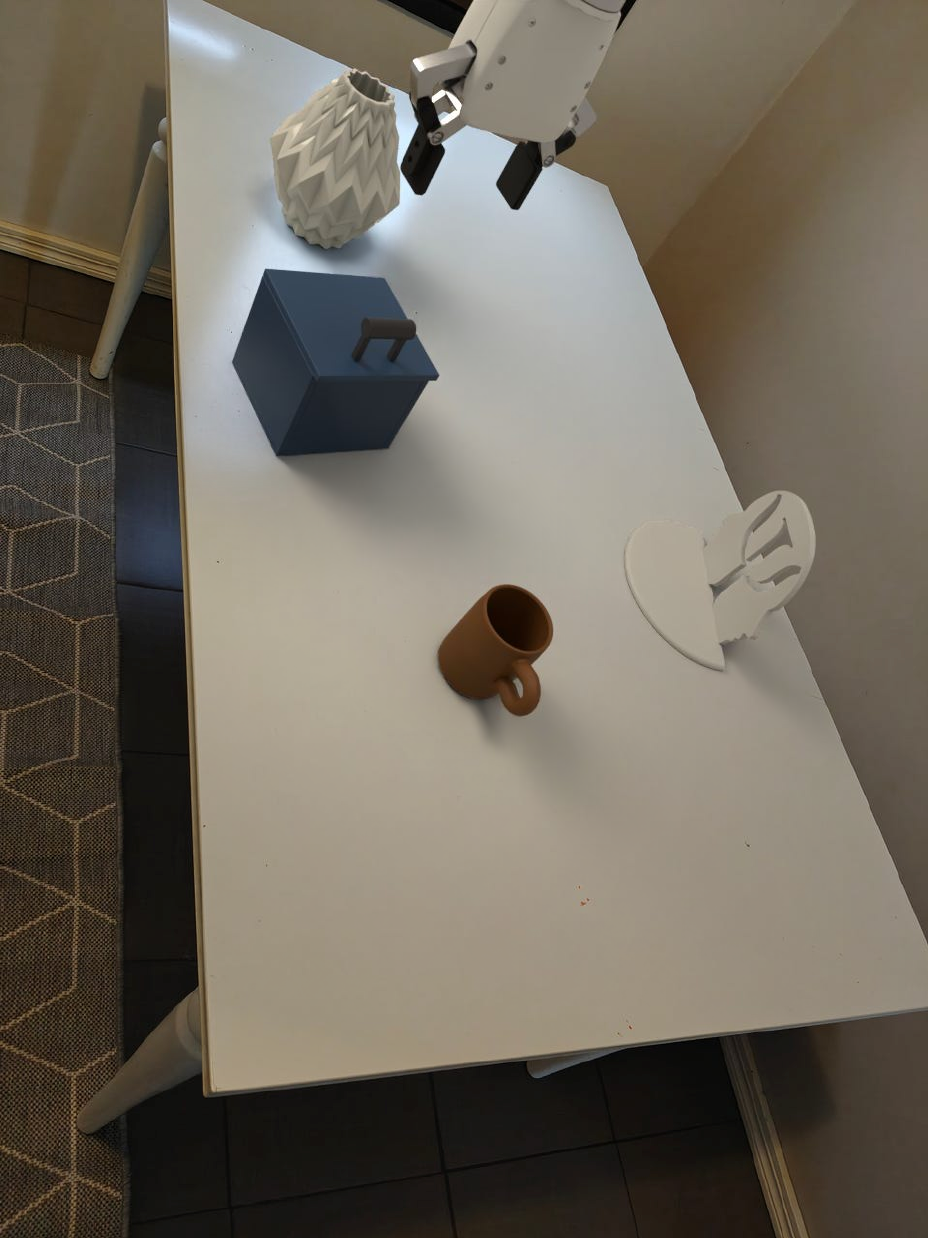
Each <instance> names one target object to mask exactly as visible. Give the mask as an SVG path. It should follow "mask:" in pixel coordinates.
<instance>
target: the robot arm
mask: <svg viewBox="0 0 928 1238" xmlns="http://www.w3.org/2000/svg"><path fill="white" fill-rule="evenodd" d="M626 1H627V0H472V2H471V4H470V6H469V7H468V9H467V11H466V14H465V15H464V16H463V19H462V21H461V22H460V24H459V26H458V27H457V30H456V32H455V33H454V36H453V38H452V40H451V41H450V44H449V45H448V48H446V49H443V50H440V51H437V52H433V53H429V54H426V55H422V56H418V57H416V58H414V59H413V60H412V61H411V62H410V64H409V88H410V91H409V93H408V99H409V101H410V105H411V107H412V111H413V112H414V113H413V114H414V115H413V117H414V119H415V120H416V122H417V125H416V129H415V131H414V133H413V135H412V137H411V140H410V142H409V144H408V146H407V148H406V151H405V153H404V155H403V157H402V160H401V163H400V168H399V170H400V173H401V174H402V176H403V177H404V179H405V180H406V182H407V184H408V185H409V187H410V189H411V190H412V192H413V193H414V195H416V196H424V195H425V194H426V193H427V191H428V189H429V187H430V185H431V183H432V181H433V178H434V177H435V175H436V173H437V170H438V168H439V166H440V165H441V162H442V160H443V158H444V156H445V154H446V148H445V147H444V145H443V143H444V142H445V141H447V140H449V138H451V137H453V136H454V135H455V134H457V133H458V132H460V131H461V130H462V129H464V128H465V127H467V126H468V127H470V128H473V129H476V130H479V131H484V132H489V133H492V134H497V135H501V136H507V137H510V138H515V139H520V141H519V142H518V143H517V144H516V146H515V147H514V148H513V151H512V153H511V155H510V156H509V158H508V160H507V161H506V163H505V166H504V167H503V169H502V171H501V173H500V175H499V176H498V178H497V180H496V182H495V187H496V188H497V190H498V191H499V193H500V195H501V196H502V198H503V199H504V200H505V202H506V203H507V205H508V207H509V208H510V209H511V210H512V211H519V210H520V209H521V207H522V205H523V204H524V202H525V200H526V199H527V197H528V195H529V193H530V192H531V190H532V189H533V187H534V185H535V183H536V182H537V180H538V178H539V177H540V175H541V174H542V172H543V169H547V168H550V167H551V166H552V165H554V164H555V162H556V159H557V156H559V155H561V154H562V153H564V152H565V151H567V150H569V149H571V148H572V147H573V146H574V145H575V144H576V141H577V138H580V137H581V136H582V135H583V134H584V133H585V132H587V131H588V130H589V128H591V127H592V126H593V125H594V124H595V123H596V122H597V120H598V115H597V113H596V111H595V110H594V108H593V106H592V105H591V103H590V101H589V99H588V98H587V96H586V95H587V93H588V92H589V90H590V88H591V85H592V83H593V81H594V80H595V78H596V75H597V74H598V71H599V69H600V67H601V65H602V63H603V62H604V59H605V56H606V54H607V52H608V50H609V48H610V45H611V42H612V40H613V38H614V35H615V34H616V30H617V28H618V25H619V23H620V20H621V16H622V13H621V10H622V8H623V7H624V6H625V5H624V4H625V3H626ZM436 86H438V87H439V88H440V90H439V91H438V92H437V93H435V94H434V90H435V87H436ZM461 98H462V99H463V100H462V101H461V100H460V99H461ZM450 108H451V110H452V112H450V113H449V114H448V115H446V116H445V117H444V118H442V119H440V118H439V116H440V115H441V114H443V113H444V112H446V111H447V110H449V109H450ZM522 140H524V141H522Z"/></svg>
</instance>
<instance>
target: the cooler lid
mask: <svg viewBox="0 0 928 1238" xmlns="http://www.w3.org/2000/svg"><path fill="white" fill-rule="evenodd" d="M262 276H264V278H265V280H266V282H267V284H268V286H269V288H270V290H271V292H272V294H273V296H274V298H275V300H276V302H277V304H278V306H279V308H280V310H281V312H282V314H283V316H284V318H285V320H286V322H287V324H288V326H289V328H290V330H291V332H292V334H293V336H294V338H295V340H296V342H297V344H298V346H299V348H300V350H301V352H302V354H303V356H304V358H305V360H306V362H307V364H308V366H309V368H310V370H311V372H312V374H313V375H314V377H315V379H316V381H317V382H376V381H429V382H437V381H438V379H439V377H440V374H439V372H438V369H437V368H436V366H435V364H434V363H433V361H432V359H431V357H430V355H429V353H428V352H427V350H426V348H425V347H424V344H423V343H422V342H421V339H420V337H419V336H418V334H417V325H416V322H415V321H414V320H413V319H409V318H408V317H407V315H406V313H405V312H404V309H403V308H402V306H401V304H400V303H399V300H398V299H397V297H396V296H395V294H394V291H393V290H392V288H391V287H390V285H389V283H388V282H387V279H386V278H385V277H380V276H379V277H378V276H366V275H365V276H364V275H353V274H340V273H329V272H328V273H327V272H315V271H303V270H291V269H290V270H288V269H276V268H264V270H263V273H262Z"/></svg>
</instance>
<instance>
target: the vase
mask: <svg viewBox="0 0 928 1238" xmlns="http://www.w3.org/2000/svg"><path fill="white" fill-rule="evenodd" d="M395 99H396V98H395V95H394V94H393V93H391V92H390V87H389V86H387V85H385V84H382V82H381V80H380V78H379V77H375V76H371V74H370V73H368V71H367V70H366V71H360V70H359V69H358V68H355V67H354V68H353V69H352V70H351V69H348V68H344V70H343V72H342V74H341V75H339V76H338V77H337V78H334V79H332V80H331V81H330V82H329V84H327V85H325V86H323V88H319V89H318V90H315V91H314V92H313V94H312V95H311V96H310V97H309V99H308V100H307V101H306V103H305V104H304V106H303V107H302V108H301V109H300V110H298V111H295V112H293V113H291V114H289V115H288V116H287V117H286V118H285V119H283V120H282V121H281V122H280V123H279V126H278V128H277V130H275V131H274V133H272V135H271V136H270V137H269V144H270V150H271V155H272V162H273V177H274V183H275V189H276V194H277V195H276V196H277V200H278V201H279V203H280V204H281V205H282V207H281V213H282V214H283V215H284V216H285V220H284V223H285V224H286V225H287V226H289V227H291V228H292V229H293V232H294V235H295V236H299V237H302V238H304V239H305V240H306V242H308V244H309V245H319V246H320V247H322V248H323V249H325V250H328V249H330V248H331V247H333V248H336V249H339V250H340V249H341V248H342V246H343V245H344V244H348V243H349V241H351V240H353V239H359V238H360V237H362V236H363V235H364V234H366V232H368V231H369V230H370V229H372V227H374V226H375V225H376V224H378V223H380V222H381V221H382V220H383V219H384V218H386V217H387V216H388V215H389V214H390V213H391V212H393V211H394V210H395V209H396V208H397V207H398V206H400V203H401V169H400V168H399V165H398V154H399V145H400V135H399V131H398V128H397V113H396V110H395V106H396V103H395Z"/></svg>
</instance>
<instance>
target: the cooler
mask: <svg viewBox="0 0 928 1238" xmlns="http://www.w3.org/2000/svg"><path fill="white" fill-rule="evenodd" d="M258 284H259V285H258V287H257V290H256V293H255V295H254V298H253V301H252V304H251V307H250V309H249V312H248V316H247V317H246V321H245V324H244V327H243V329H242V333H241V335H240V337H239V341H238V344H237V347H236V348H235V352H234V354H233V357H232V360H231V363H232V365H233V368H234V370H235V372H236V374H237V376H238V378H239V381H240V383H241V385H242V387H243V389H244V391H245V393H246V396H247V397H248V400H249V402H250V404H251V406H252V408H253V410H254V413H255V414H256V416H257V418H258V420H259V423H260V424H261V428H262V429H263V431H264V434H265V435H266V438H267V440H268V442H269V444H270V446H271V448H272V451H273V452H274V455H275V456H276V457H284V456H287V457H288V456H300V455H301V456H302V455H314V454H329V453H330V454H331V453H342V452H359V451H373V450H388V449H389V448H390V447H391V446H392V443H393V442H394V440H395V439H396V437H397V435H398V433H399V432H400V430H401V429H402V427H403V425H404V423H406V420H407V419H408V417H409V415H410V413H411V412H412V411H413V409H414V407H415V405H416V403H417V402H418V400H419V398H420V397H421V395H422V393H423V392H424V390H425V389H426V387H427V385H428V384H429V382H430V381H376V382H317V381H316V379H315V377H314V375H313V374H312V372H311V370H310V368H309V366H308V364H307V362H306V360H305V358H304V356H303V354H302V352H301V350H300V348H299V346H298V344H297V342H296V340H295V338H294V336H293V334H292V332H291V330H290V328H289V326H288V324H287V322H286V320H285V318H284V316H283V314H282V312H281V310H280V308H279V306H278V304H277V302H276V300H275V298H274V296H273V294H272V292H271V290H270V288H269V286H268V284H267V282H266V280H265V278H264V276H263V275H262V276H261V279H260V282H259V283H258Z"/></svg>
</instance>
